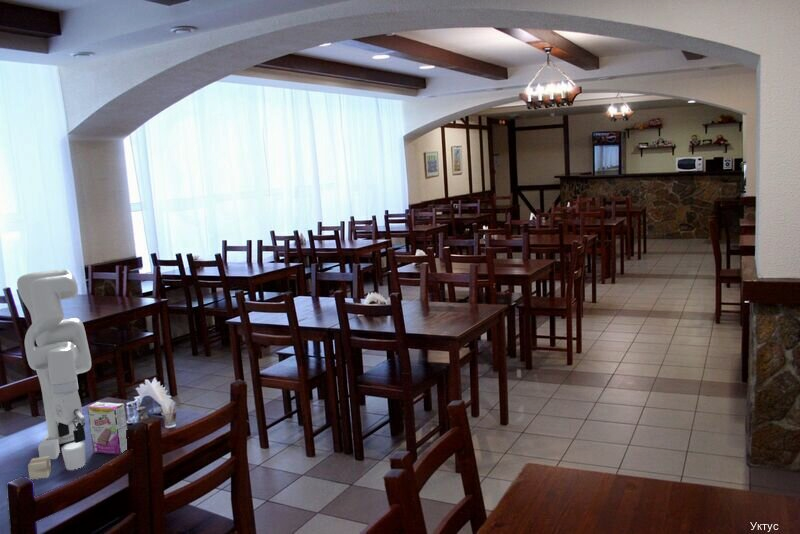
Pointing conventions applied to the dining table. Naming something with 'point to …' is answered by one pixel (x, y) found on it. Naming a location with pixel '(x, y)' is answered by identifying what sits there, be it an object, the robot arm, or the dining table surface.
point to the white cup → (74, 455)
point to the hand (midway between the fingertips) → (72, 438)
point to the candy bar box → (108, 427)
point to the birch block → (39, 467)
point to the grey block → (49, 448)
